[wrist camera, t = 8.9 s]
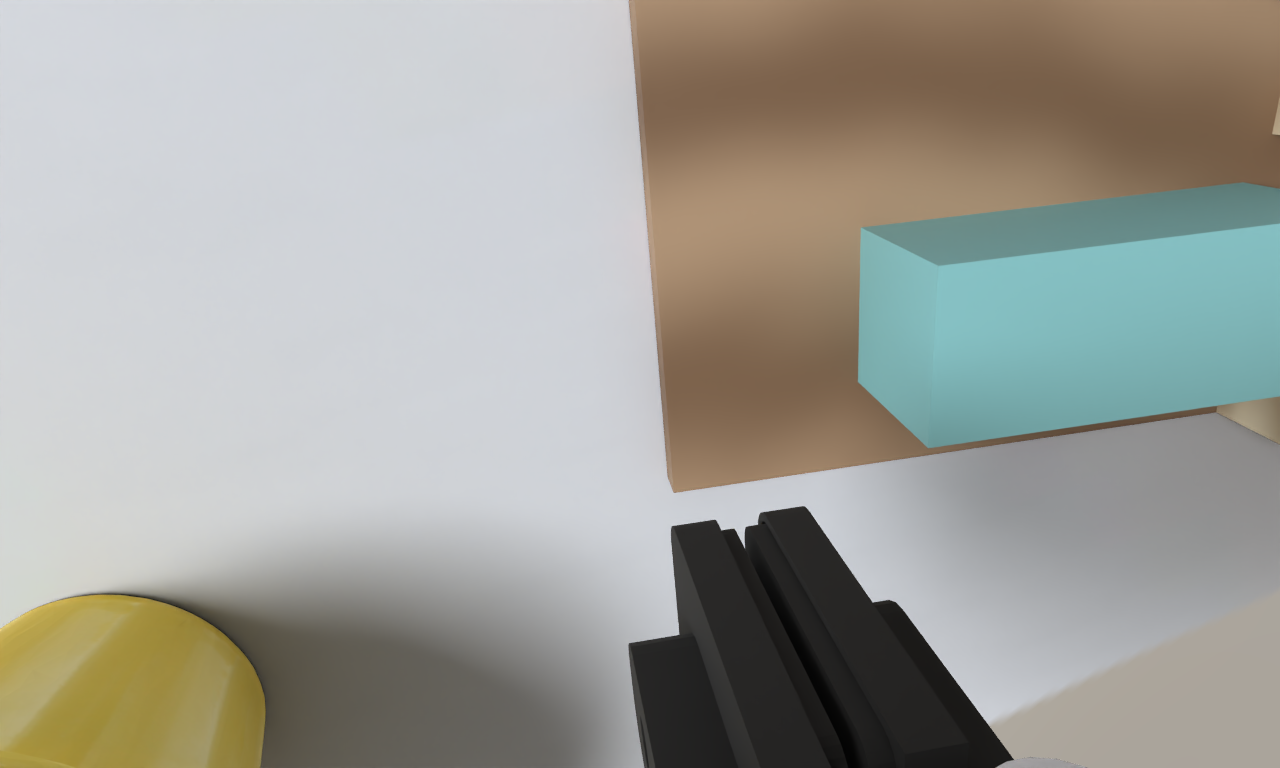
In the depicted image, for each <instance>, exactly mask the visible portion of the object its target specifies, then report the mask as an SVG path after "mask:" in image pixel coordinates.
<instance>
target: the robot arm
mask: <svg viewBox="0 0 1280 768" xmlns="http://www.w3.org/2000/svg"><path fill="white" fill-rule="evenodd" d="M671 542H672V554H673V565H674V577H675V588H676V600H677V611H678V622H679V634H680V635H677V636H671V637H665V638H659V639H653V640H647V641H641V642H635V643H629V658H630V667H631V676H632V685H633V693H634V701H635V709H636V716H637V723H638V730H639V737H640V743H641V749H642V755H643V761H644V767H645V768H1087V767H1084V766H1081V765H1077V764H1073V763H1070V762H1066V761H1062V760H1059V759H1050V758H1035V757H1029V758H1023V759H1017V760H1014V759H1013V758H1012V757H1011V755H1010V754H1009V752H1008V751H1007V750H1006V748H1005V747H1004V746H1003V744H1002V743H1001V742H1000V740H999V739H998V738H997V736H996V735H995V734H994V732H993V731H992V729H991V728H990V727H989V725H988V724H987V723H986V721H985V720H984V719H983V717H982V716H981V715H980V713H979V712H978V711H977V709H976V708H975V706H974V705H973V704H972V702H971V701H970V700H969V698H968V697H967V696H966V694H965V693H964V692H963V690H962V689H961V688H960V686H959V685H958V684H957V682H956V681H955V679H954V678H953V677H952V675H951V674H950V673H949V671H948V670H947V669H946V667H945V666H944V665H943V663H942V662H941V661H940V659H939V658H938V657H937V655H936V654H935V652H934V651H933V650H932V648H931V647H930V646H929V644H928V643H927V642H926V640H925V639H924V638H923V636H922V635H921V634H920V632H919V631H918V630H917V628H916V627H915V626H914V624H913V623H912V621H911V620H910V619H909V617H908V616H907V615H906V613H905V612H904V611H903V609H902V608H901V607H900V606H899V605H898V604H897V603H896V602H893V601H890V600H886V601H880V602H874V603H872V601H871V600H870V598H869V597H868V595H867V594H866V593H865V591H864V590H863V588H862V587H861V585H860V584H859V582H858V581H857V580H856V578H855V577H854V575H853V574H852V572H851V571H850V569H849V568H848V567H847V565H846V564H845V562H844V561H843V559H842V558H841V556H840V555H839V554H838V552H837V551H836V549H835V548H834V546H833V545H832V543H831V542H830V541H829V539H828V538H827V536H826V535H825V533H824V532H823V530H822V529H821V528H820V526H819V525H818V523H817V522H816V520H815V519H814V517H813V516H812V515H811V513H810V512H809V510H808V509H807V508H806V507H803V506H802V507H795V508H788V509H782V510H775V511H769V512H762V513H760V515H759V519H758V525H754V526H748V527H746V529H745V548H744V546H743V544H742V542H741V540H740V538H739V536H738V534H737V532H736V531H735V529H728V530H722V531H721V529H720V527H719V525H718V523H717V521H716V520H710V521H704V522H697V523H690V524H684V525H677V526H672V528H671Z"/></svg>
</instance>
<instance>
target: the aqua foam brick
mask: <svg viewBox="0 0 1280 768" xmlns="http://www.w3.org/2000/svg"><path fill="white" fill-rule="evenodd" d="M858 382H859V383H860V384H861V385H862V386H863V387H864V388H865V389H866V390H867V391H868V392H869V393H870V394H871V395H872V396H873V397H875V398H876V399H877V400H878V401H879V402H880V403H881V404H882V405H883V406H884V407H885V408H886V409H887V410H888V411H889V412H890V413H891V414H893V415H894V416H895V417H896V418H897V419H898V420H899V421H900V422H901V423H902V424H903V425H904V426H905V427H906V428H907V429H908V430H909V431H911V432H912V433H913V434H914V435H915V436H916V437H917V438H918V439H919V440H920V441H921V442H922V443H923V444H924V445H925V446H926V447H927V448H934V447H941V446H947V445H954V444H961V443H968V442H974V441H981V440H988V439H995V438H1002V437H1008V436H1015V435H1022V434H1029V433H1035V432H1042V431H1049V430H1056V429H1062V428H1069V427H1076V426H1083V425H1090V424H1096V423H1103V422H1110V421H1117V420H1123V419H1130V418H1137V417H1144V416H1150V415H1157V414H1164V413H1171V412H1178V411H1184V410H1191V409H1198V408H1205V407H1211V406H1218V405H1225V404H1232V403H1238V402H1245V401H1252V400H1259V399H1266V398H1272V397H1279V396H1280V189H1278V188H1272V187H1267V186H1261V185H1255V184H1249V183H1244V182H1241V183H1233V184H1224V185H1216V186H1208V187H1199V188H1191V189H1182V190H1174V191H1165V192H1157V193H1148V194H1140V195H1131V196H1123V197H1114V198H1106V199H1098V200H1089V201H1081V202H1072V203H1064V204H1055V205H1047V206H1038V207H1030V208H1021V209H1013V210H1004V211H996V212H988V213H979V214H971V215H962V216H954V217H945V218H937V219H928V220H920V221H911V222H903V223H894V224H886V225H878V226H869V227H861V242H860V298H859V353H858Z"/></svg>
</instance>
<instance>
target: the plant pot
mask: <svg viewBox="0 0 1280 768" xmlns="http://www.w3.org/2000/svg"><path fill="white" fill-rule="evenodd" d="M265 714H266V708H265V697H264V693H263V690H262V686H261V683H260V681H259V678H258V676H257V674H256V672H255V670H254V667H253V666H252V664H251V663H250V662H249V660H248V659H247V657H246V656H245V655H244V654H243V652H242V651H241V650H240V649H239V648H238V647H237V646H236V645H235V644H234V643H233V642H232V641H231V640H230V639H229V638H228V637H227V636H226V635H225V634H223V633H222V632H221V631H219V630H218V629H217V628H215V627H214V626H213V625H211V624H209V623H208V622H206V621H205V620H203V619H201V618H199V617H197V616H196V615H194V614H192V613H189V612H187V611H185V610H183V609H180V608H178V607H175V606H172V605H169V604H166V603H163V602H159V601H155V600H151V599H147V598H140V597H132V596H124V595H90V596H80V597H72V598H67V599H63V600H59V601H55V602H51V603H48V604H46V605H43V606H40V607H37V608H35V609H33V610H31V611H29V612H27V613H25V614H23V615H21V616H20V617H18V618H16V619H15V620H13V621H11V622H10V623H8V624H7V625H5V626H4V627H2V628H1V629H0V768H260V766H261V757H262V748H263V739H264V728H265Z"/></svg>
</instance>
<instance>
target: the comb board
mask: <svg viewBox="0 0 1280 768" xmlns="http://www.w3.org/2000/svg"><path fill="white" fill-rule="evenodd" d="M629 8H630V20H631V32H632V45H633V57H634V69H635V81H636V94H637V106H638V118H639V130H640V142H641V155H642V167H643V179H644V191H645V204H646V216H647V228H648V240H649V253H650V265H651V277H652V289H653V302H654V314H655V326H656V338H657V351H658V363H659V375H660V387H661V400H662V412H663V424H664V436H665V449H666V461H667V473H668V479H669V481H670V484H671V487H672V490H673V492H674V493H676V492H683V491H689V490H696V489H703V488H710V487H716V486H723V485H730V484H736V483H743V482H750V481H757V480H763V479H770V478H777V477H784V476H790V475H797V474H804V473H811V472H817V471H824V470H831V469H837V468H844V467H851V466H858V465H864V464H871V463H878V462H885V461H891V460H898V459H905V458H911V457H918V456H925V455H932V454H938V453H945V452H952V451H959V450H965V449H972V448H979V447H985V446H992V445H999V444H1006V443H1012V442H1019V441H1026V440H1033V439H1039V438H1046V437H1053V436H1060V435H1066V434H1073V433H1080V432H1086V431H1093V430H1100V429H1107V428H1113V427H1120V426H1127V425H1134V424H1140V423H1147V422H1154V421H1160V420H1167V419H1174V418H1181V417H1187V416H1194V415H1201V414H1208V413H1214V412H1217V413H1219V414H1221V415H1223V416H1225V417H1227V418H1228V419H1230V420H1232V421H1234V422H1236V423H1238V424H1240V425H1242V426H1244V427H1246V428H1248V429H1250V430H1252V431H1254V432H1256V433H1258V434H1260V435H1262V436H1264V437H1266V438H1268V439H1270V440H1272V441H1274V442H1276V443H1278V444H1280V396H1279V397H1272V398H1266V399H1259V400H1252V401H1245V402H1238V403H1232V404H1225V405H1218V406H1211V407H1205V408H1198V409H1191V410H1184V411H1178V412H1171V413H1164V414H1157V415H1150V416H1144V417H1137V418H1130V419H1123V420H1117V421H1110V422H1103V423H1096V424H1090V425H1083V426H1076V427H1069V428H1062V429H1056V430H1049V431H1042V432H1035V433H1029V434H1022V435H1015V436H1008V437H1002V438H995V439H988V440H981V441H974V442H968V443H961V444H954V445H947V446H941V447H934V448H927V447H926V446H925V445H924V444H923V443H922V442H921V441H920V440H919V439H918V438H917V437H916V436H915V435H914V434H913V433H912V432H911V431H909V430H908V429H907V428H906V427H905V426H904V425H903V424H902V423H901V422H900V421H899V420H898V419H897V418H896V417H895V416H894V415H893V414H891V413H890V412H889V411H888V410H887V409H886V408H885V407H884V406H883V405H882V404H881V403H880V402H879V401H878V400H877V399H876V398H875V397H873V396H872V395H871V394H870V393H869V392H868V391H867V390H866V389H865V388H864V387H863V386H862V385H861V384H860V383H859V382H858V353H859V298H860V242H861V227H869V226H878V225H886V224H894V223H903V222H911V221H920V220H928V219H937V218H945V217H954V216H962V215H971V214H979V213H988V212H996V211H1004V210H1013V209H1021V208H1030V207H1038V206H1047V205H1055V204H1064V203H1072V202H1081V201H1089V200H1098V199H1106V198H1114V197H1123V196H1131V195H1140V194H1148V193H1157V192H1165V191H1174V190H1182V189H1191V188H1199V187H1208V186H1216V185H1224V184H1233V183H1241V182H1244V183H1249V184H1255V185H1261V186H1267V187H1272V188H1278V189H1280V0H629Z"/></svg>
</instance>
